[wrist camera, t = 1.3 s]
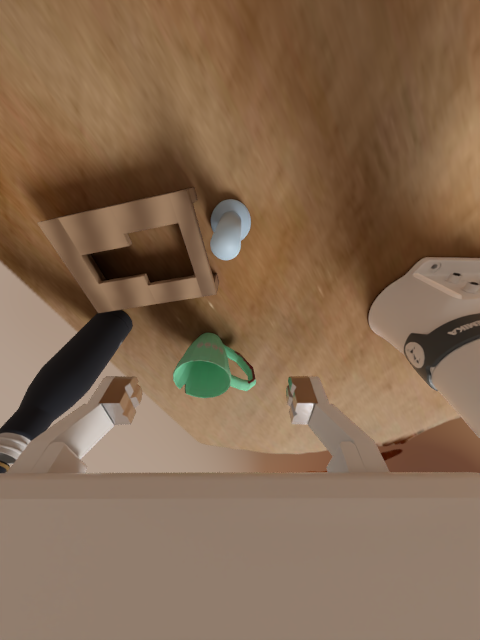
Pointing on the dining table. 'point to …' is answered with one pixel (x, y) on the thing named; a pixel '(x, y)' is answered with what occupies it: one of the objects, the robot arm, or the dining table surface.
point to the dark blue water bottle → (63, 382)
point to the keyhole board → (112, 232)
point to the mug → (210, 368)
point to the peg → (229, 228)
